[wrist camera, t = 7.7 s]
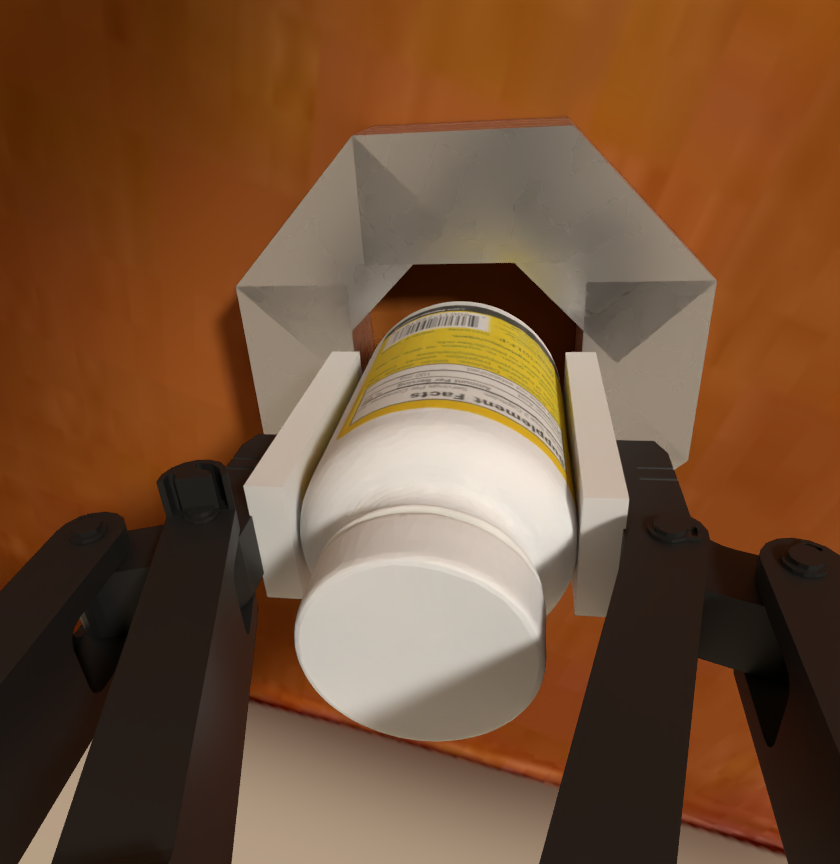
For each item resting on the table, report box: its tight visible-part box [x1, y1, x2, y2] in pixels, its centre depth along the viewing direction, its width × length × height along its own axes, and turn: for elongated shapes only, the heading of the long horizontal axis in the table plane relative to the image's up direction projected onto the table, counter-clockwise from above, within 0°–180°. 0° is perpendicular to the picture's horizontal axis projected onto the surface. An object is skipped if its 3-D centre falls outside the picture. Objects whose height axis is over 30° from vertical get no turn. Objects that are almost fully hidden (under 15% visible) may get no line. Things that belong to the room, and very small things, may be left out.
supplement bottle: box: [294, 301, 578, 741], centre depth 15 cm, size 5×5×10 cm
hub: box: [236, 117, 717, 470], centre depth 20 cm, size 13×13×3 cm
